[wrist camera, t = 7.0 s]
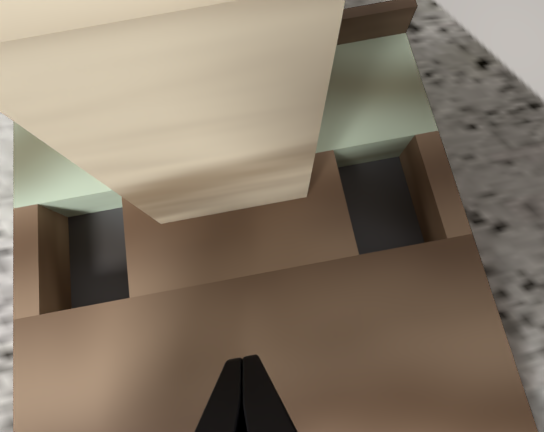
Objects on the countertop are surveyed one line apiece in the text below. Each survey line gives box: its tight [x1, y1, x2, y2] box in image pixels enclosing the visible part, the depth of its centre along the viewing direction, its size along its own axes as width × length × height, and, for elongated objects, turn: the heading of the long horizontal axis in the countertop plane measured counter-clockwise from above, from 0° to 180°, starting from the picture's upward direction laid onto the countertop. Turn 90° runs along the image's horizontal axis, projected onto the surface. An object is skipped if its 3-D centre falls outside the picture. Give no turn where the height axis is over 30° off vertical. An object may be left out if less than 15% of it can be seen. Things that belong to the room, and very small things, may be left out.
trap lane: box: [13, 0, 538, 432], centre depth 14 cm, size 22×18×4 cm
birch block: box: [0, 0, 345, 224], centre depth 11 cm, size 6×6×10 cm
